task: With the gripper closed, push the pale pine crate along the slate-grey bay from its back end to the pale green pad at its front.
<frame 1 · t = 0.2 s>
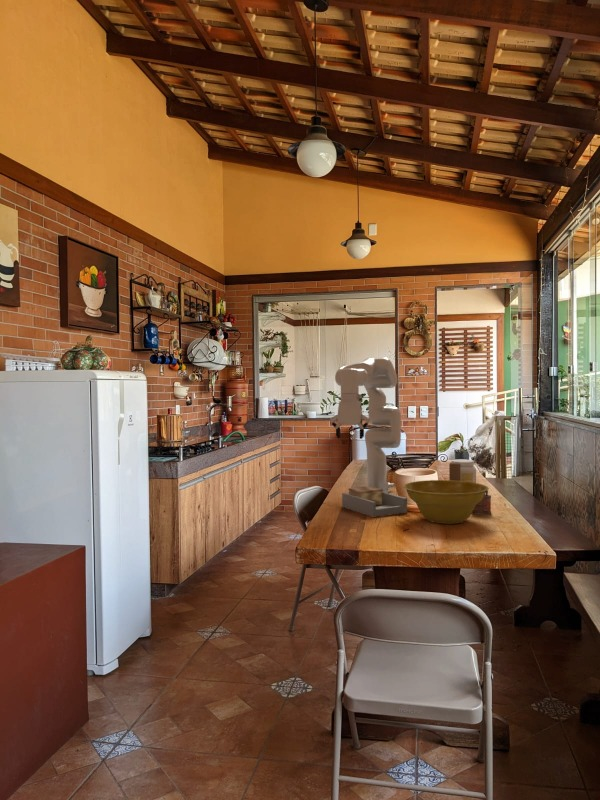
hand: (349, 438, 241), 31 cm above the table, tool pointing down, fingers open, 9 cm apart
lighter: (480, 513, 233), on the table
supplement tub: (462, 496, 270), on the table
crate: (365, 496, 247), point 5 cm above the table, slide at 0.0 cm
planter bowl: (445, 520, 222), on the table
bay: (373, 509, 242), on the table
wooden block: (460, 504, 252), on the table
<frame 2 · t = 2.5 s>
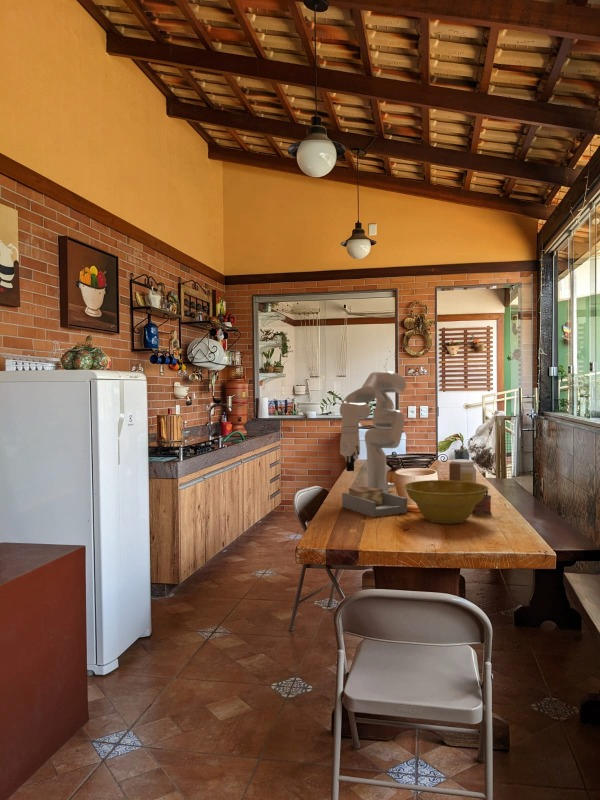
hand: (350, 470, 256), 14 cm above the table, tool pointing down, fingers closed
nothing on the table moved.
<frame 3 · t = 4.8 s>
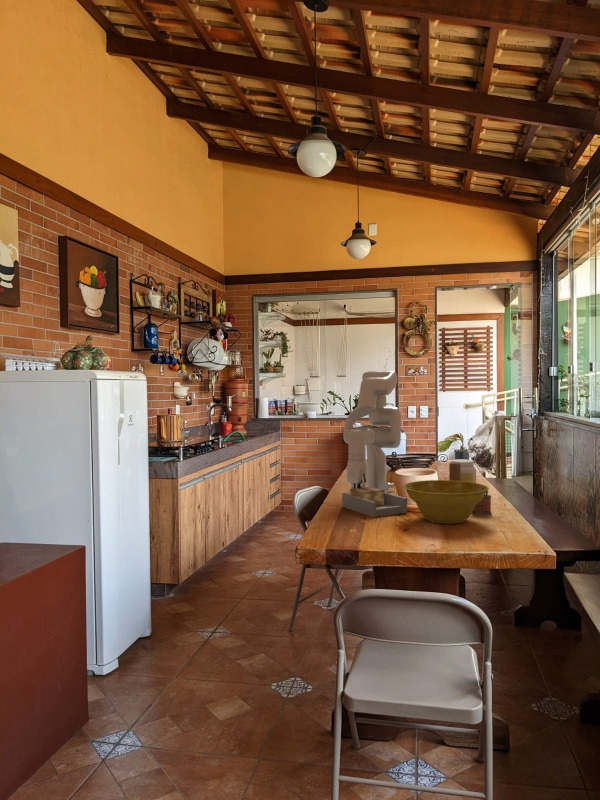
hand: (357, 498, 252), 3 cm above the table, tool pointing down, fingers closed
crate: (367, 496, 246), point 5 cm above the table, slide at 1.5 cm, touching gripper
everything else where it was.
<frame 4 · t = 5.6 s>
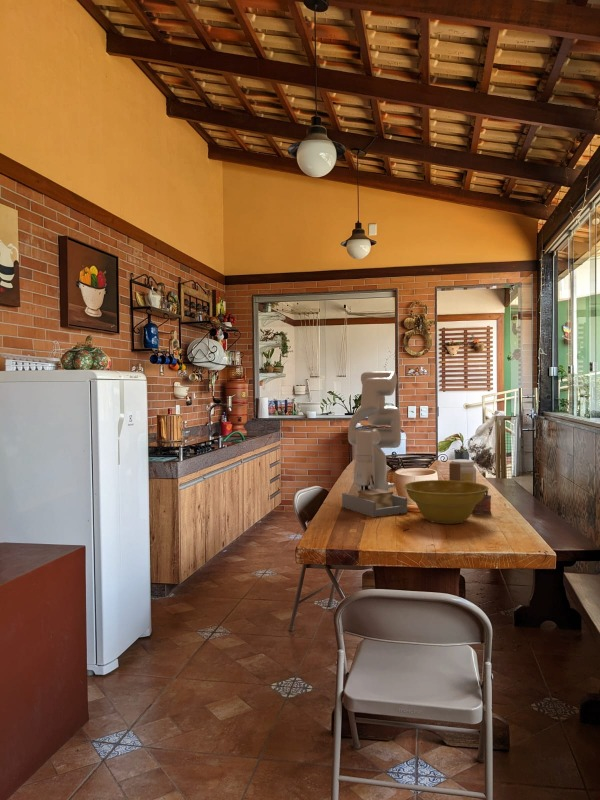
hand: (364, 500, 247), 3 cm above the table, tool pointing down, fingers closed
crate: (375, 499, 240), point 5 cm above the table, slide at 7.3 cm, touching gripper
everything else where it was.
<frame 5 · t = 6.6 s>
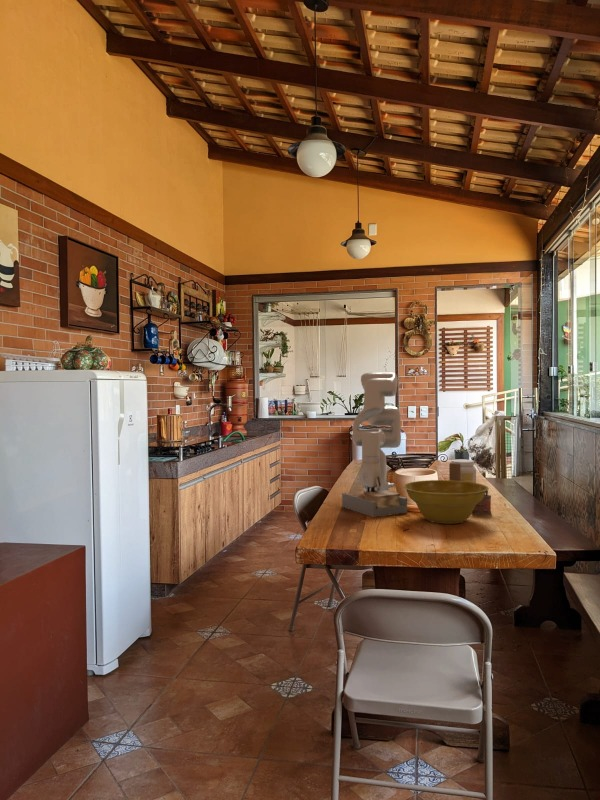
hand: (371, 502, 243), 3 cm above the table, tool pointing down, fingers closed
crate: (382, 501, 236), point 5 cm above the table, slide at 12.0 cm, touching bay, gripper
everything else where it was.
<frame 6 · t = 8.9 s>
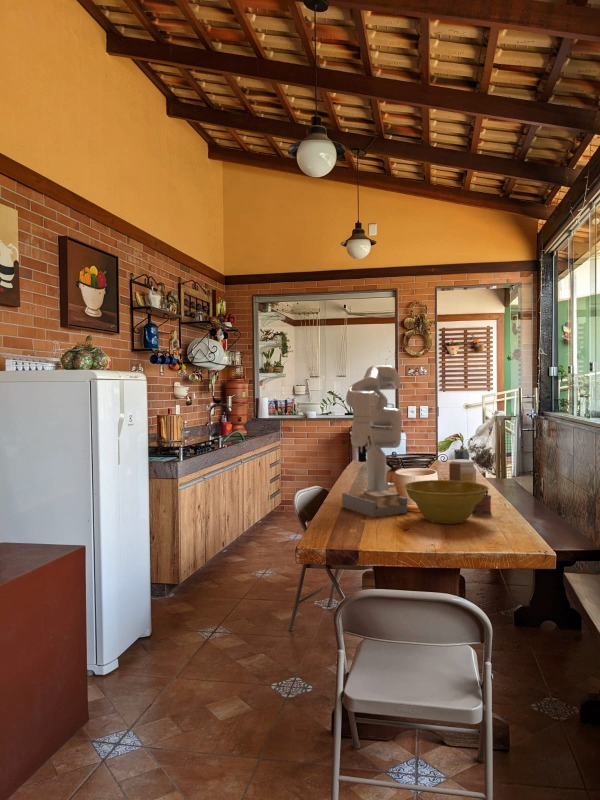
hand: (362, 461, 249), 20 cm above the table, tool pointing down, fingers closed
crate: (382, 501, 236), point 5 cm above the table, slide at 12.0 cm, touching bay
everything else where it was.
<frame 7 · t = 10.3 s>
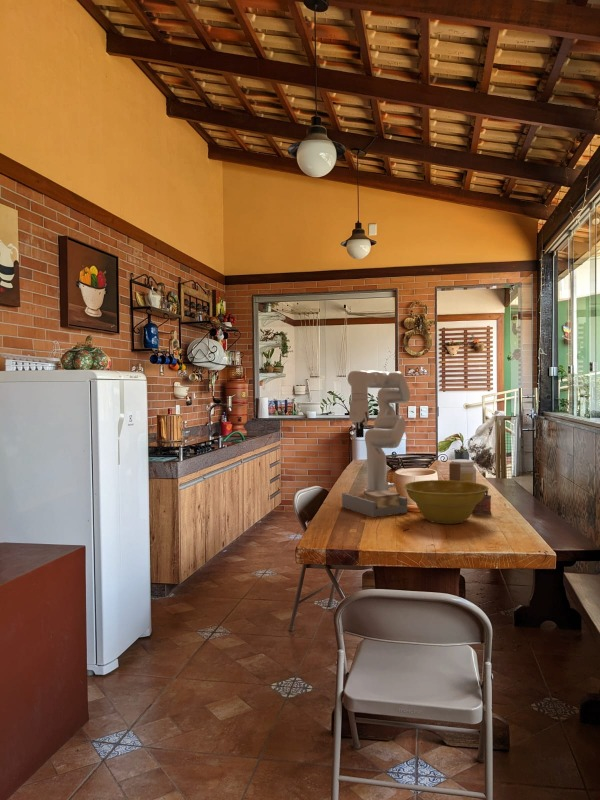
hand: (359, 437, 262), 29 cm above the table, tool pointing down, fingers closed
nothing on the table moved.
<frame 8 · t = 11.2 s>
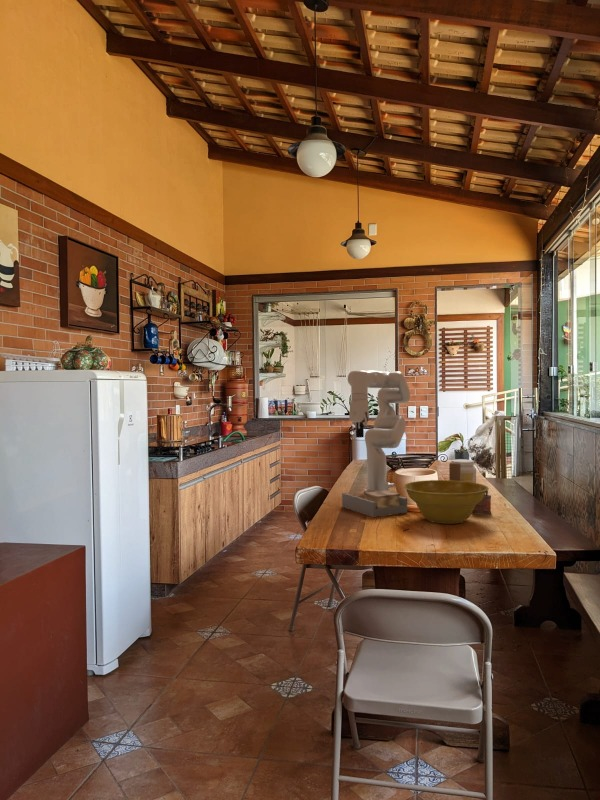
hand: (359, 437, 263), 29 cm above the table, tool pointing down, fingers closed
nothing on the table moved.
at the end: crate slide at 12.0 cm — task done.
